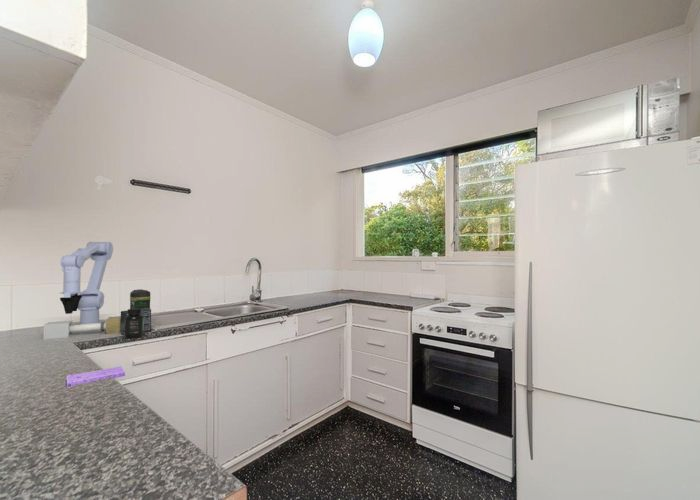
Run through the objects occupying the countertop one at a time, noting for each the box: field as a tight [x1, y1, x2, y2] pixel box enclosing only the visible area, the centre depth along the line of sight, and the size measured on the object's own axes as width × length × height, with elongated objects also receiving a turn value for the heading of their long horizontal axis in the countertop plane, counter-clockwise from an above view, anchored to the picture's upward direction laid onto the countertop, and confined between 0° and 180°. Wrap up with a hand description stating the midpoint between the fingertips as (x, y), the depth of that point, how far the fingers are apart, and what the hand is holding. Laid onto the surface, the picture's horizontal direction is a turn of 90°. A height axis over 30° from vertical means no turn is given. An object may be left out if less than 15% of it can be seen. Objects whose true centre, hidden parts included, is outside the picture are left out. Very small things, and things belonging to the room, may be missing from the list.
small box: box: [120, 308, 152, 336], centre depth 146 cm, size 11×6×10 cm, turn 144°
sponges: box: [66, 366, 126, 388], centre depth 90 cm, size 7×13×2 cm, turn 132°
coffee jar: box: [129, 289, 151, 309], centre depth 159 cm, size 10×8×19 cm
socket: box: [105, 315, 121, 335], centre depth 148 cm, size 5×7×6 cm
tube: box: [69, 321, 106, 334], centre depth 143 cm, size 18×4×4 cm, turn 119°
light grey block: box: [42, 320, 74, 341], centre depth 138 cm, size 8×6×6 cm
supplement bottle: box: [123, 308, 145, 339], centre depth 138 cm, size 7×7×12 cm
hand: (71, 312), depth 143 cm, fingers open, 7 cm apart
